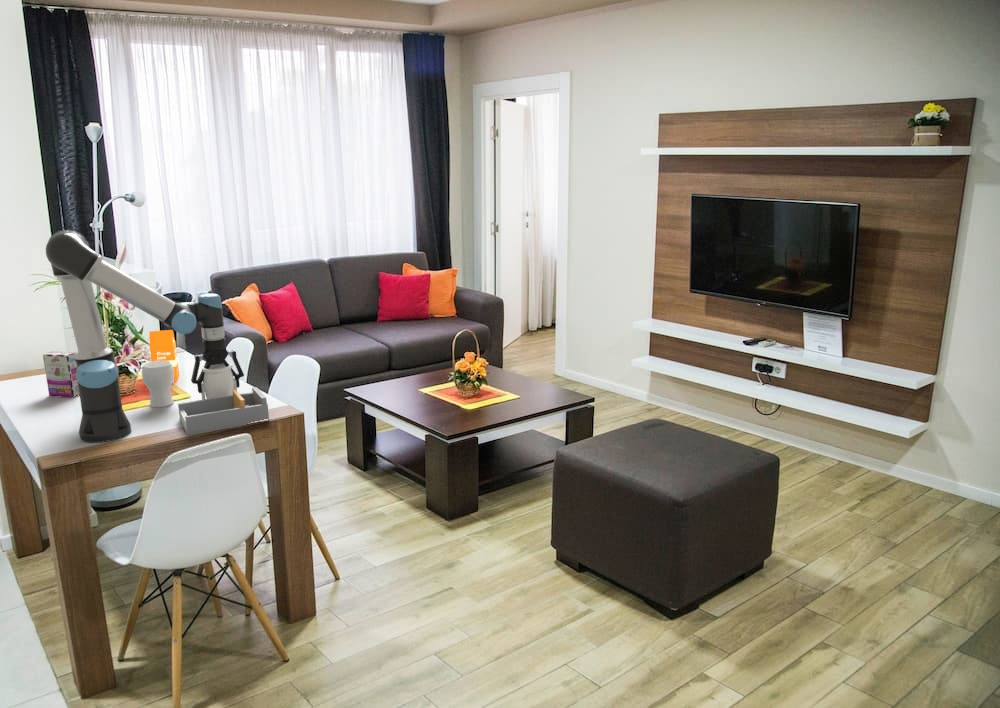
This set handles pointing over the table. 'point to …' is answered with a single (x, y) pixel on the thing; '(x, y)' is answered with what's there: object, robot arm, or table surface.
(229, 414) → the gray open tray
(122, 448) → the table surface
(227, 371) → the jar
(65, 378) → the candy bar box
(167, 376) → the cup
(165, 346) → the orange juice
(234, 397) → the block
